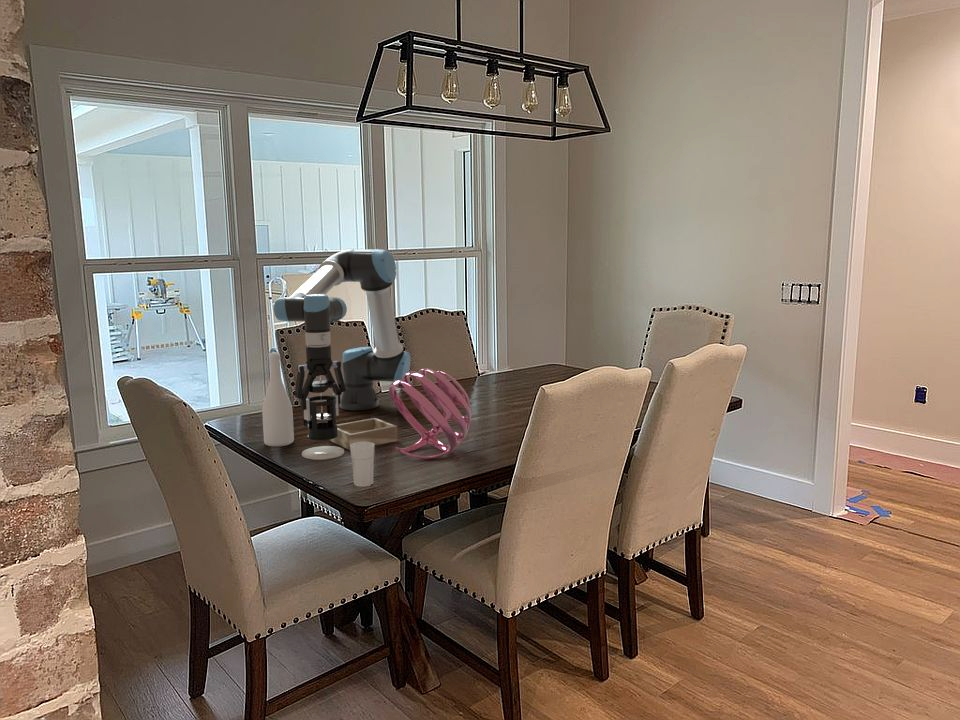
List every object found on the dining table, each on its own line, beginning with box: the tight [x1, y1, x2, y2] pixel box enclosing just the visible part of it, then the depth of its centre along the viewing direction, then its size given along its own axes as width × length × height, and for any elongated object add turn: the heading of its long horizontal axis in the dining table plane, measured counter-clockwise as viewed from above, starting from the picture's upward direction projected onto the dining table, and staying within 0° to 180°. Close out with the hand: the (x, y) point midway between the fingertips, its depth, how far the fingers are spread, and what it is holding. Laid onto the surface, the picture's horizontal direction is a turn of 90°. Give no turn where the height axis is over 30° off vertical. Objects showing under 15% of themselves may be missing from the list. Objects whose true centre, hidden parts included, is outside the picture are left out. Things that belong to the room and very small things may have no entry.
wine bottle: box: [261, 351, 295, 447], centre depth 247 cm, size 10×10×30 cm
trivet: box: [301, 445, 345, 461], centre depth 238 cm, size 13×13×1 cm
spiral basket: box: [388, 367, 472, 460], centre depth 235 cm, size 28×28×27 cm
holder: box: [329, 417, 398, 451], centre depth 252 cm, size 14×17×5 cm
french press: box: [302, 364, 338, 441], centre depth 235 cm, size 12×9×23 cm
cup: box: [349, 442, 375, 488], centre depth 209 cm, size 7×7×11 cm
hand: (321, 417), depth 236 cm, fingers closed on french press, 9 cm apart
